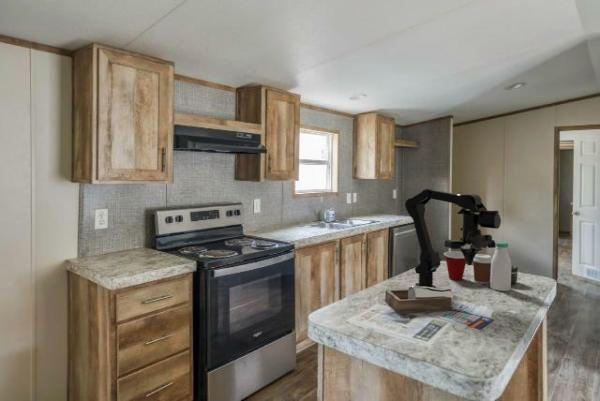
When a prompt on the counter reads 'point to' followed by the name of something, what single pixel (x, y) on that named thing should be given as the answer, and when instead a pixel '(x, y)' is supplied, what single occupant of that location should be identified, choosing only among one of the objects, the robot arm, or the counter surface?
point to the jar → (514, 274)
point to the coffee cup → (482, 268)
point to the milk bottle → (501, 268)
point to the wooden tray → (416, 303)
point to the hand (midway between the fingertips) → (469, 265)
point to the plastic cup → (455, 264)
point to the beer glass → (428, 292)
